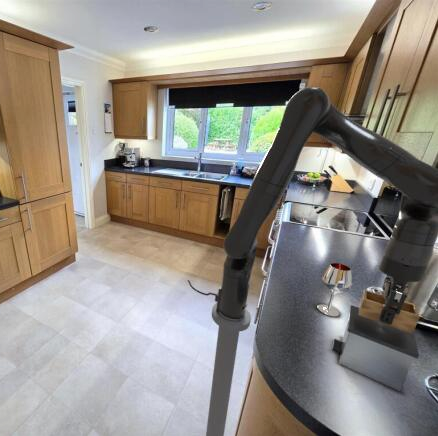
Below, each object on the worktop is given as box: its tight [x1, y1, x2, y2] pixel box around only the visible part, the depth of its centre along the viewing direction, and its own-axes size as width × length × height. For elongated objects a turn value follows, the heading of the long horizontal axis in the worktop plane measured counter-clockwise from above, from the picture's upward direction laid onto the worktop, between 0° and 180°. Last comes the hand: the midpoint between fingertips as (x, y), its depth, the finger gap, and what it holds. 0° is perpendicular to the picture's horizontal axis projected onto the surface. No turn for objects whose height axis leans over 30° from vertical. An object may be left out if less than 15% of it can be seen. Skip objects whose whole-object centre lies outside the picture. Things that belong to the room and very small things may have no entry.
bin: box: [331, 304, 420, 392], centre depth 66 cm, size 14×13×12 cm
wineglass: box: [317, 262, 353, 318], centre depth 85 cm, size 8×8×18 cm
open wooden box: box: [358, 288, 420, 334], centre depth 62 cm, size 10×6×5 cm, turn 49°
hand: (384, 315), depth 63 cm, fingers closed on open wooden box, 6 cm apart
